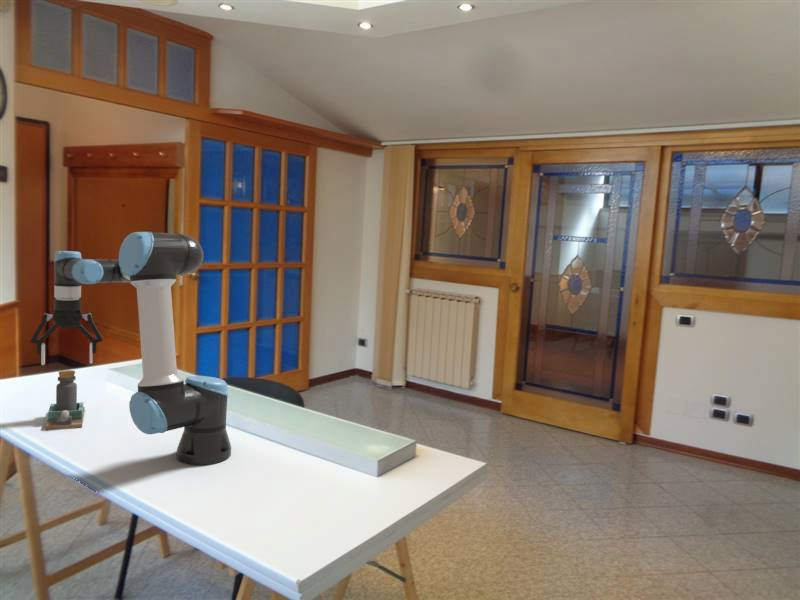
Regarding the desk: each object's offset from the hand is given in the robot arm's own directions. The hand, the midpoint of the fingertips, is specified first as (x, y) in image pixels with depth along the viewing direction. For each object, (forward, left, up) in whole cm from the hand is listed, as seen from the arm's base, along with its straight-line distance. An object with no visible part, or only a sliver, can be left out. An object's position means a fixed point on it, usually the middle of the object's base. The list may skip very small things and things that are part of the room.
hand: (67, 363), depth 191 cm
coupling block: (0, 0, -19) cm, 19 cm away
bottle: (0, 0, -18) cm, 18 cm away
